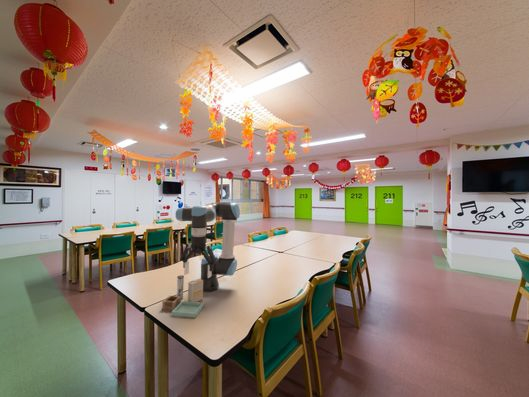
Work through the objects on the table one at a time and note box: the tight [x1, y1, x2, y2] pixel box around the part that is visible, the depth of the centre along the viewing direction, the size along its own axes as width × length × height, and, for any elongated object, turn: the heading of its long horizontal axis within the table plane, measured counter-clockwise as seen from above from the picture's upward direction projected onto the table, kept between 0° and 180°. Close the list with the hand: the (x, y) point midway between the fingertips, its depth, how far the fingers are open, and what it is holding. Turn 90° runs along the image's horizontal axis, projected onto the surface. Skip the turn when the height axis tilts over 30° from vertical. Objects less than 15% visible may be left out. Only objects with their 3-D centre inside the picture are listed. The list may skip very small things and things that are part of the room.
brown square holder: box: [162, 295, 182, 312], centre depth 124 cm, size 8×8×5 cm
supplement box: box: [187, 278, 204, 302], centre depth 132 cm, size 8×5×13 cm, turn 141°
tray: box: [171, 300, 205, 319], centre depth 120 cm, size 12×14×2 cm
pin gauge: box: [176, 275, 185, 301], centre depth 134 cm, size 4×4×15 cm
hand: (197, 275), depth 107 cm, fingers open, 13 cm apart
